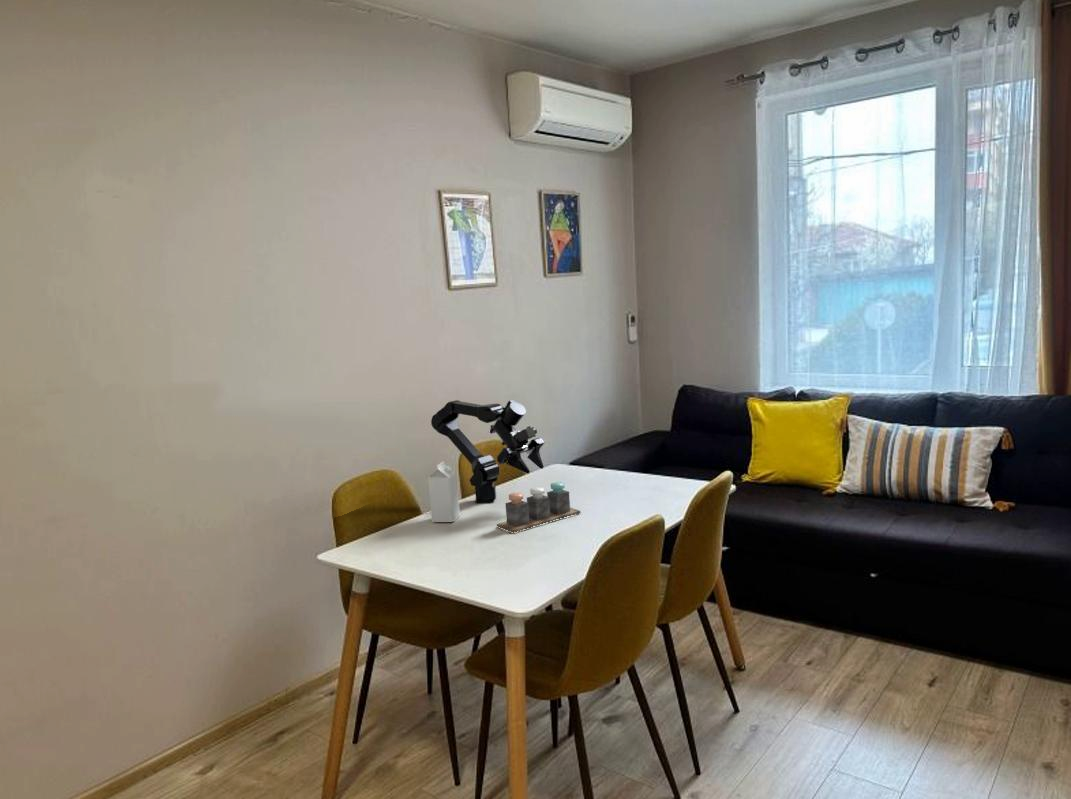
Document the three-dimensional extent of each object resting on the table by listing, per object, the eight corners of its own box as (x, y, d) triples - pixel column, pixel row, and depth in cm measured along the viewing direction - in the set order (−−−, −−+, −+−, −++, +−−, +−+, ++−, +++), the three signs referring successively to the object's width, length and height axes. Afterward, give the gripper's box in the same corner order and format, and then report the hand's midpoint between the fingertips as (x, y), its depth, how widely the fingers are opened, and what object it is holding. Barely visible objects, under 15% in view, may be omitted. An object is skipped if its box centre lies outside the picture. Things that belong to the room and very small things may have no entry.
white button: (536, 503, 223) (535, 492, 222) (528, 500, 226) (527, 489, 226) (547, 500, 225) (547, 489, 224) (539, 497, 229) (538, 486, 228)
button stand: (513, 533, 215) (511, 509, 214) (496, 527, 223) (495, 503, 222) (580, 513, 230) (579, 491, 229) (563, 508, 238) (561, 486, 236)
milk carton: (431, 523, 231) (426, 465, 228) (439, 516, 238) (434, 460, 235) (452, 523, 229) (447, 465, 226) (460, 516, 236) (455, 460, 233)
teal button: (556, 497, 227) (556, 486, 227) (548, 495, 231) (547, 484, 230) (567, 494, 230) (567, 483, 229) (559, 492, 233) (558, 481, 233)
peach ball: (514, 509, 218) (513, 497, 217) (506, 506, 222) (505, 494, 221) (526, 505, 221) (525, 494, 220) (518, 503, 224) (517, 491, 224)
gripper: (500, 424, 229) (529, 461, 223) (538, 414, 243) (566, 449, 237) (484, 446, 235) (512, 483, 229) (522, 435, 249) (549, 469, 244)
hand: (536, 470), depth 235 cm, fingers open, 7 cm apart
